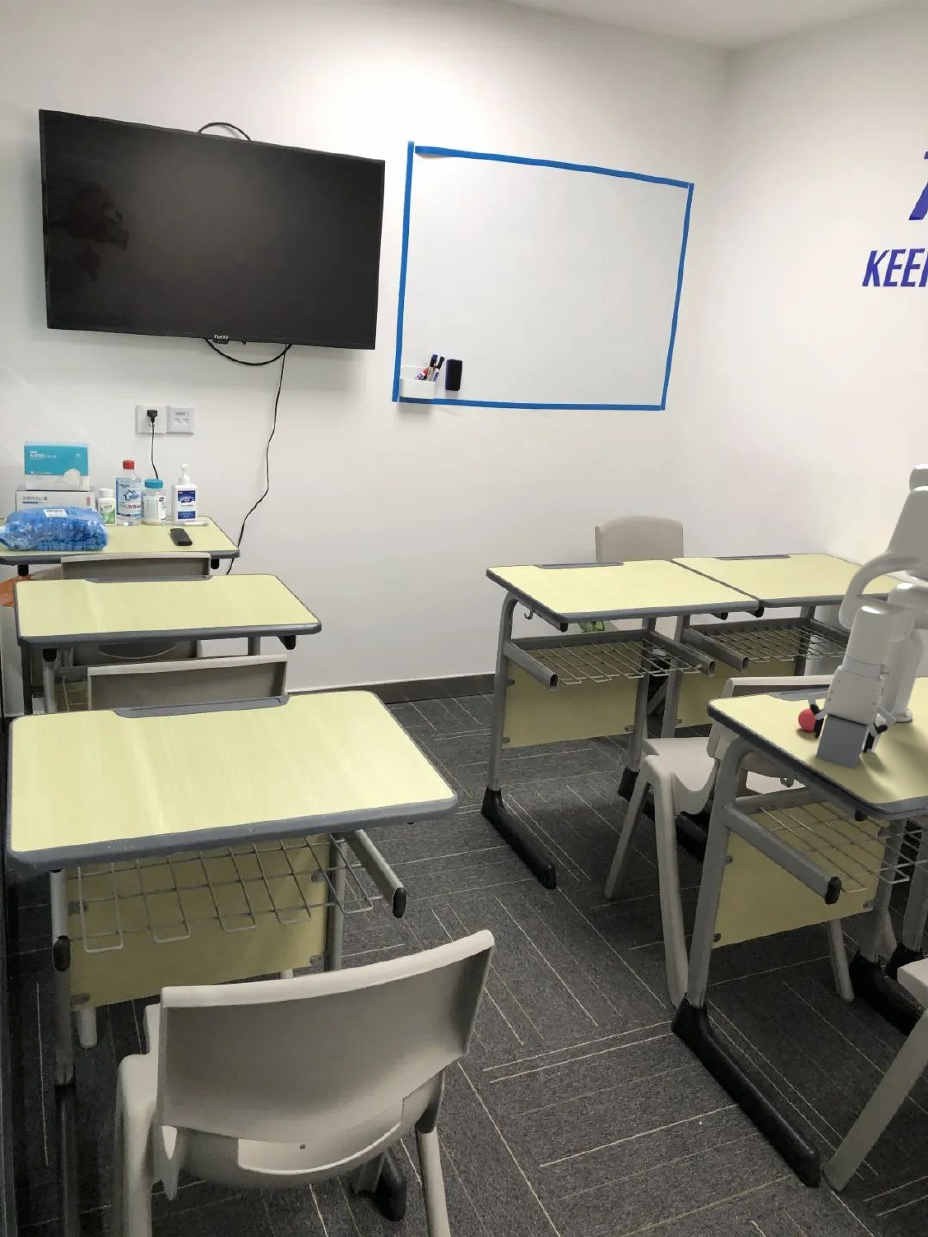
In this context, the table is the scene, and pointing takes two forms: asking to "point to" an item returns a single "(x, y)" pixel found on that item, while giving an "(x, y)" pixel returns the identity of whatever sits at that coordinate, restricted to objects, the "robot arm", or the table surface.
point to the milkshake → (878, 721)
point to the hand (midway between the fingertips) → (841, 743)
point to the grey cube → (841, 741)
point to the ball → (807, 720)
